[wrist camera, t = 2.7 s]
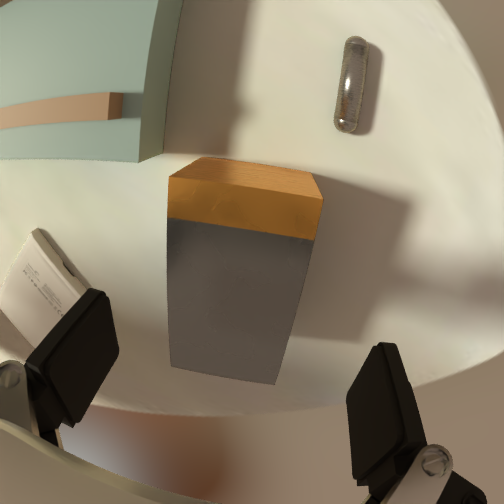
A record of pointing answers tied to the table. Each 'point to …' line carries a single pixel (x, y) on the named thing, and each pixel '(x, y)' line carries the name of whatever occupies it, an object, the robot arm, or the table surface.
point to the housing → (237, 264)
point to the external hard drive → (38, 289)
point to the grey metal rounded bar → (351, 84)
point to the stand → (85, 78)
